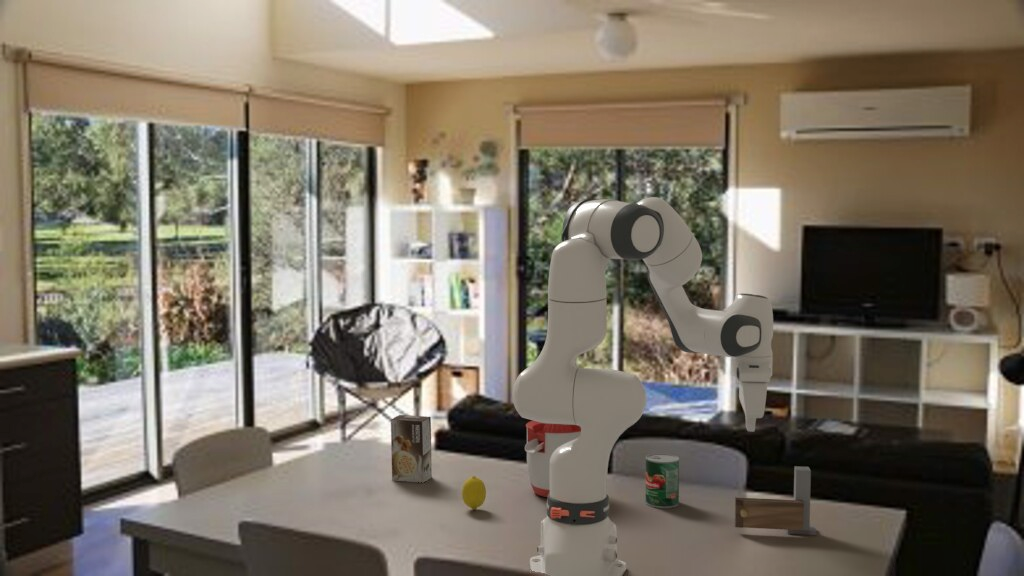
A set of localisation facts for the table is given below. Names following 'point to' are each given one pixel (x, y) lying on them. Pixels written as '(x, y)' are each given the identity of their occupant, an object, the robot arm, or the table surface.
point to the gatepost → (803, 498)
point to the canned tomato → (662, 480)
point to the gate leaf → (769, 513)
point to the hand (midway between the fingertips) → (750, 429)
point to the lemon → (473, 492)
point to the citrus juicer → (545, 450)
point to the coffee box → (411, 448)
